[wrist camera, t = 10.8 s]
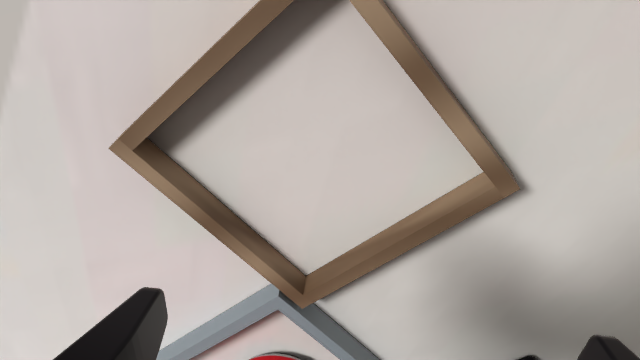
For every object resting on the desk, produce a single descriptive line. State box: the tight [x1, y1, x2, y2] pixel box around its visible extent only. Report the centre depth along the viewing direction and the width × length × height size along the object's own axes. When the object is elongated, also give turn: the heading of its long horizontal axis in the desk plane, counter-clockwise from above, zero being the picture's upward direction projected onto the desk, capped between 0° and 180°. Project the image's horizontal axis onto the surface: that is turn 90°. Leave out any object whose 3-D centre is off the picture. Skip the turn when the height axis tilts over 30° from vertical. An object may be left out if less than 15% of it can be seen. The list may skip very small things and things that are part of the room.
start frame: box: [109, 0, 520, 309], centre depth 22 cm, size 14×14×2 cm
